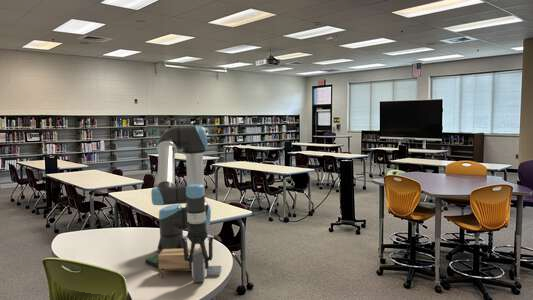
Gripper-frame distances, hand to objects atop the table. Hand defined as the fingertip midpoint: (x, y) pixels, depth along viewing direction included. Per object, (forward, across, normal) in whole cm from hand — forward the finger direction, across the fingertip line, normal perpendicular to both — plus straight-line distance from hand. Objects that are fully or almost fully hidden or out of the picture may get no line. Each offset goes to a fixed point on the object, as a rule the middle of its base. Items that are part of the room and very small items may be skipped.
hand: (199, 276), depth 163 cm
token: (+3, +4, +9) cm, 10 cm away
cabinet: (+3, -10, +10) cm, 14 cm away
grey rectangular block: (+2, 0, +4) cm, 5 cm away
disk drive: (+3, -22, +22) cm, 31 cm away
